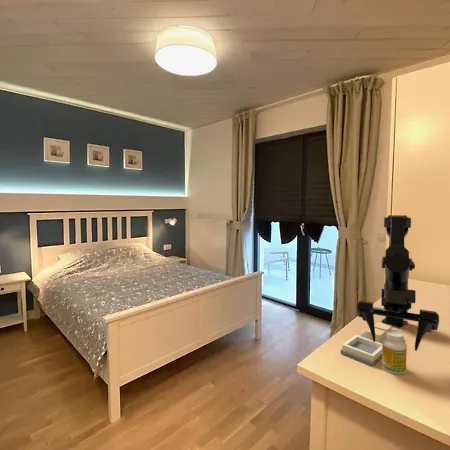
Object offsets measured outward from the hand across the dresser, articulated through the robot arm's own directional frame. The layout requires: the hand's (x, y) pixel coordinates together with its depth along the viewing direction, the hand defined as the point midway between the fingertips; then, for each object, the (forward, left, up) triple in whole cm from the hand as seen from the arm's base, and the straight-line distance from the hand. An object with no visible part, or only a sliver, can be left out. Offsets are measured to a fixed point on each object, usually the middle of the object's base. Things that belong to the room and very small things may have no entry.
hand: (394, 345), depth 73 cm
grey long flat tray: (-9, -9, -7) cm, 15 cm away
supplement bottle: (-1, 0, -7) cm, 7 cm away
